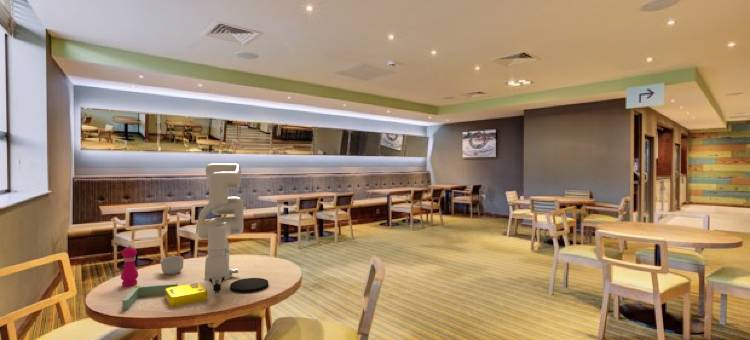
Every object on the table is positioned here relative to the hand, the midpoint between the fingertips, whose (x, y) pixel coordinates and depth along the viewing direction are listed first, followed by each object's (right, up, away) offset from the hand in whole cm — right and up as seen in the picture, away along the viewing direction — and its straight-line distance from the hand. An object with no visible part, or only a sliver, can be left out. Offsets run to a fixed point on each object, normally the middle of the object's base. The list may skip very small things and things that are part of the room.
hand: (217, 292), depth 173 cm
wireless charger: (+11, -2, +12) cm, 16 cm away
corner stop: (-26, -1, -7) cm, 27 cm away
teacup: (-40, -1, +34) cm, 52 cm away
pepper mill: (-49, -1, +13) cm, 50 cm away
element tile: (-12, -2, -4) cm, 13 cm away
